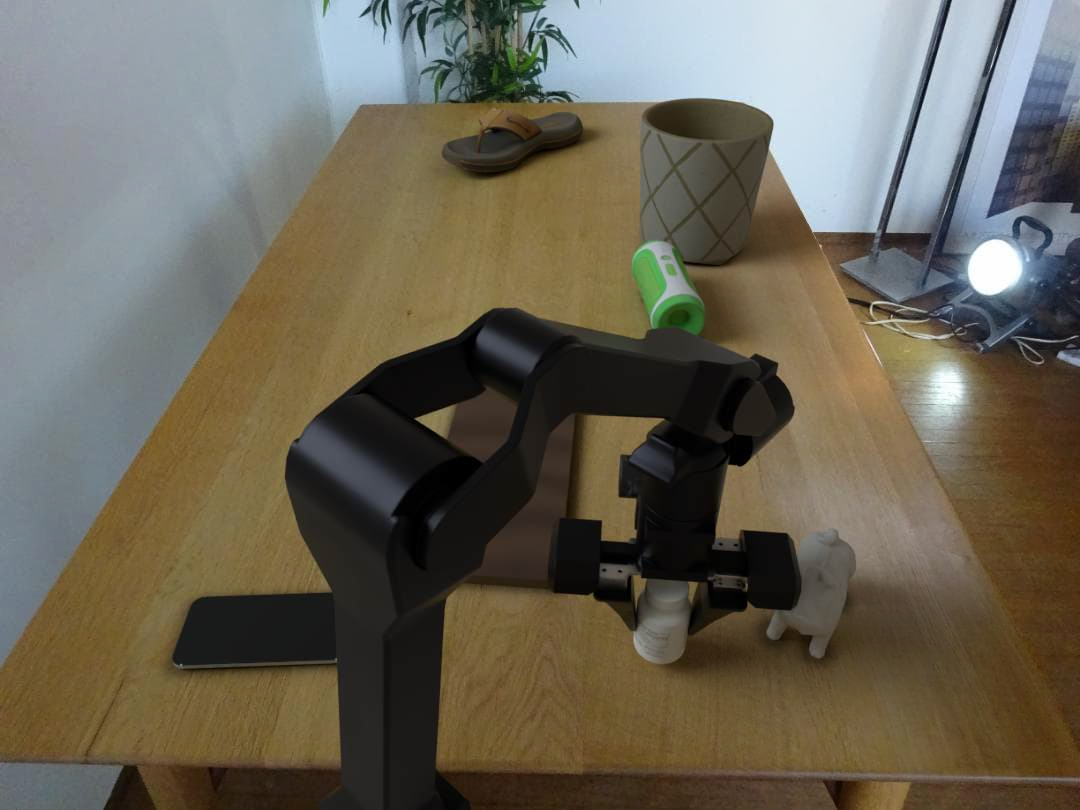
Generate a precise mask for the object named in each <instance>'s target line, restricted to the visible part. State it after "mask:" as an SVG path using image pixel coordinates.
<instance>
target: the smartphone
mask: <svg viewBox="0 0 1080 810" xmlns="http://www.w3.org/2000/svg"><path fill="white" fill-rule="evenodd" d="M171 660H172V663H173V664H174V666H175V667H176V668H178V669H182V670H186V669H188V670H189V669H211V668H212V669H213V668H241V667H243V668H245V667H268V666H270V667H271V666H272V667H273V666H291V665H292V666H295V665H296V666H297V665H300V666H301V665H323V664H325V665H326V664H327V665H328V664H337V653H336V628H335V604H334V597H333V593H332V591H329V592H301V593H300V592H299V593H298V592H297V593H272V594H271V593H270V594H269V593H268V594H241V595H240V594H238V595H214V596H213V595H212V596H211V595H209V596H207V595H206V596H201V597H199V598H196V599H195V600H193V602H192V603H191V604H190V606H189V609H188V613H187V615H186V618H185V620H184V622H183V626H182V628H181V631H180V633H179V636H178V639H177V641H176V644H175V647H174V649H173V653H172V656H171Z"/></svg>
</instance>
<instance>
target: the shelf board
mask: <svg viewBox="0 0 1080 810" xmlns="http://www.w3.org/2000/svg"><path fill="white" fill-rule="evenodd" d="M517 407H518V406H516V405H514V404H512V403H511V402H509V401H507V400H505V399H504V398H502V397H500V396H498V395H497V394H495V393H493V392H491V391H490V390H488V389H486V390H485V391H484V392H483V393H482V394H480V395H478V396H477V397H475V398H472V399H469V400H466V401H464V402H461V403H458V404H456V406H455V408H454V413H453V416H452V420H451V423H450V426H449V430H448V434H447V437H446V439H447V440H448V441H450V442H451V443H453V444H455V445H456V446H458V447H459V448H461V449H462V450H464V451H466V452H467V453H469V454H470V455H472V456H473V457H475V458H476V459H478V460H479V461H481V462H482V463H484V462H485V461H487V460H488V459H489V458H490V457H491V456H492V455H493V454H494V453H495V452H496V451H497V450H498V449H499V448H500V447H501V446H502V445H503V444H504V443H505V442H507V440H508V438H509V435H510V431H511V428H512V424H513V421H514V417H515V414H516V410H517ZM575 424H576V415H573V414H570V415H569V416H568V417H567V418H566V419H565V420H564V421H563V422H562V423H560V424H559V425H558V426H557V427H556V428H555V429H554V430H553V431H552V432H551V433H550V435H549V438H548V442H547V446H546V450H545V454H544V458H543V462H542V466H541V470H540V474H539V478H538V482H537V486H536V490H535V493H534V495H533V497H532V499H531V500H530V501H529V502H528V503H527V504H526V505H525V506H524V507H523V508H522V509H521V510H520V511H519V512H518V513H517V514H516V515H515V516H514V518H513V519H512V520H511V521H510V522H509V523H508V524H507V525H506V526H505V527H504V528H503V529H502V530H501V531H500V532H499V533H498V534H497V535H496V536H495V537H494V538H493V539H492V540H491V541H490V542H489V543H488V544H487V546H486V550H485V555H484V559H483V563H482V566H481V567H480V569H479V570H477V571H476V572H475V573H474V574H473V575H472V576H471V577H470V578H468V579H467V580H466V581H465V582H464V583H465V584H476V585H477V584H478V585H489V586H490V585H491V586H506V587H518V588H519V587H520V588H532V589H533V588H535V589H545V590H548V589H549V588H548V587H547V573H548V559H549V550H550V542H551V533H552V524H553V523H554V522H556V521H557V520H558V519H559V518H560V517H561V518H567V506H568V497H569V488H570V486H569V485H570V478H571V477H570V476H571V468H572V467H571V466H572V456H573V446H574V436H575V435H574V434H575ZM464 583H463V584H464ZM549 590H550V589H549Z"/></svg>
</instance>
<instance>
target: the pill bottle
mask: <svg viewBox="0 0 1080 810" xmlns="http://www.w3.org/2000/svg"><path fill="white" fill-rule="evenodd" d="M644 586H645V587H644V589H643V590H641V592H640V593H639V595H638V598H637V602H636V627H635V631H633V645H634V648H635V650H636V652H637V653H638V655H640V657H641V658H643V659H644V660H646V661H647V662H650V663H652V664H656V665H667V664H671V663H674V662H676V661H677V660H679V659H680V658H681V657H682V656H683V655H684V652H685V649H686V644H687V640H688V639H687V638H688V628H689V622H690V617H691V604H692V602H691V600H690V598H689V594H690V582H686V581H673V580H659V579H646V580H645V585H644Z"/></svg>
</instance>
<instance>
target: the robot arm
mask: <svg viewBox="0 0 1080 810" xmlns="http://www.w3.org/2000/svg"><path fill="white" fill-rule="evenodd" d="M779 364H780V363H778V362H777V361H776V360H772V359H770V358H768V357H766V356H763V355H761V354H759V353H755V352H754V353H753V354H752V355H751V356H750V357H747V356H746V355H743V354H740V353H739V352H736V351H734V350H731V349H729V348H727V347H724V346H722V345H720V344H717V343H715V342H713V341H710V340H709V339H707V338H704V337H701V336H700V335H695V334H692V333H690V332H688V331H685V330H683V329H681V328H679V327H666V328H656V329H653V328H650V329H648V330H647V331H646V332H645V334H644V337H642V338H635V337H630V336H626V335H621V334H616V333H611V332H607V331H602V330H598V329H593V328H590V327H589V328H588V327H584V326H580V325H575V324H569V323H565V322H560V321H555V320H551V319H546V318H542V317H538V316H536V315H534V314H532V313H530V312H527V311H526V310H523V309H521V308H519V307H504V306H503V307H493V308H491V309H490V310H488V311H486V312H484V313H483V314H482V315H480V316H479V317H478V318H477V319H476V320H475V321H473V322H472V323H471V324H470V325H468V326H467V327H466V328H465V329H464V330H462V331H461V332H460V333H459V334H457V335H456V336H454V337H451V338H448V339H445V340H442V341H439V342H437V343H434V344H431V345H427V346H424V347H422V348H421V347H420V348H419V349H416V350H412V351H410V352H407V353H404V354H401V355H398V356H395V357H393V358H389V359H387V360H384V361H382V362H381V363H379V364H378V365H377V366H376V367H374V368H373V369H372V370H371V371H369V372H368V373H367V374H366V375H364V376H363V377H362V378H361V379H359V380H358V381H357V382H356V383H354V384H353V385H352V386H350V388H348V389H347V390H346V391H345V392H343V393H342V394H341V395H339V396H338V397H337V398H336V399H334V400H333V401H332V402H331V403H330V404H328V405H327V406H326V407H325V408H323V409H322V410H321V411H319V412H318V414H316V415H315V416H314V417H313V418H312V419H311V420H310V422H309V423H307V425H306V426H304V428H303V430H302V432H301V434H300V436H299V437H297V438H295V439H293V441H291V444H290V446H289V448H288V452H287V454H286V458H285V466H284V468H285V469H284V482H285V487H286V490H287V494H288V497H289V500H290V504H291V508H292V510H293V514H294V518H295V521H296V524H297V527H298V531H299V534H300V536H301V538H302V539H303V541H304V543H305V545H306V547H307V549H308V550H309V552H310V554H311V556H312V557H313V559H314V562H315V563H316V565H317V568H318V569H319V570H320V572H321V574H322V576H323V577H324V580H325V581H326V583H327V585H328V588H330V592H332V593H333V597H334V604H335V628H336V653H337V663H336V674H337V675H336V676H337V699H338V701H337V703H338V724H339V747H340V748H339V749H340V771H341V772H340V773H341V774H340V775H341V784H340V785H339V786H338V787H336V788H334V789H333V790H332V791H331V792H329V794H327V795H325V797H324V798H322V799H321V800H319V803H318V808H317V810H472V807H471V801H470V800H469V799H468V798H467V797H466V796H465V795H464V794H463V793H462V792H461V791H460V790H459V789H457V787H456V786H454V784H453V783H451V781H449V780H448V778H446V776H444V775H443V774H442V773H441V772H440V770H438V769H437V757H438V753H437V752H438V739H439V738H438V736H439V734H438V733H439V720H440V700H441V684H442V668H443V650H444V649H443V648H444V631H445V630H444V629H445V616H446V615H445V613H446V605H447V599H448V597H450V596H451V595H452V594H453V593H454V592H455V591H456V590H458V588H460V587H461V586H462V585H463V584H464V582H465V581H466V580H467V579H468V578H470V577H471V576H472V575H473V574H474V573H475V572H476V571H477V570H479V569H480V567H481V566H482V563H483V559H484V555H485V550H486V546H487V544H488V543H489V542H490V541H491V540H492V539H493V538H494V537H495V536H496V535H497V534H498V533H499V532H500V531H501V530H502V529H503V528H504V527H505V526H506V525H507V524H508V523H509V522H510V521H511V520H512V519H513V518H514V516H515V515H516V514H517V513H518V512H519V511H520V510H521V509H522V508H523V507H524V506H525V505H526V504H527V503H528V502H529V501H530V500H531V499H532V497H533V495H534V493H535V490H536V486H537V482H538V478H539V474H540V470H541V466H542V462H543V458H544V454H545V450H546V446H547V442H548V438H549V435H550V433H551V432H552V431H553V430H554V429H555V428H556V427H557V426H558V425H559V424H560V423H562V422H563V421H564V420H565V419H566V418H567V417H568V416H569V415H570V414H573V415H575V416H576V415H577V416H601V417H620V418H621V417H622V418H641V419H642V418H643V419H663V420H661V421H660V422H659V423H657V424H656V425H654V426H653V427H651V429H650V430H649V431H647V433H646V437H645V439H646V440H644V441H643V442H641V444H638V446H637V447H636V448H634V449H633V450H632V452H631V454H623V453H621V454H620V458H619V467H618V481H617V482H618V483H617V484H618V485H617V486H618V487H617V496H618V498H620V499H634V500H635V509H634V510H635V511H634V519H633V520H634V522H633V523H634V528H633V529H634V531H636V532H635V537H630V538H629V539H628V541H617V540H602V533H603V532H602V531H603V519H589V518H574V517H566V518H561V517H560V518H559V519H558V520H557V521H556V522H554V523H553V524H552V533H551V542H550V550H549V559H548V573H547V587H548V588H549V590H550V591H551V592H552V593H553V594H559V595H560V594H562V595H573V596H574V595H575V596H590V595H592V597H593V599H594V600H595V601H597V602H598V603H605V604H607V605H608V606H609V607H610V608H611V609H612V610H613V611H614V612H615V613H616V614H617V615H618V616H619V617H620V618H621V620H622V621H623V623H624V625H625V626H626V627H627V629H628V630H629V631H630V632H634V631H635V627H636V608H637V602H636V592H635V590H636V589H635V580H634V576H639V577H640V579H646V580H647V579H659V580H673V581H686V582H688V583H697V584H696V587H695V591H694V594H693V598H692V601H691V617H690V622H689V628H688V633H687V636H689V637H691V636H692V637H693V636H694V635H696V634H698V633H699V632H701V631H702V630H704V629H705V628H706V627H709V625H711V624H713V623H714V622H716V621H719V620H720V619H723V618H725V617H726V616H729V615H731V614H733V613H744V612H745V611H746V610H747V608H748V605H749V604H750V605H751V606H752V607H753V608H754V609H759V610H772V611H773V610H774V611H776V610H785V611H791V610H792V609H793V608H795V607H796V606H797V604H798V601H799V598H800V594H801V586H802V579H801V574H800V570H799V565H798V560H797V551H796V545H795V541H794V539H793V538H792V537H791V536H790V535H789V533H787V532H779V531H764V530H751V529H740V530H739V535H738V538H732V537H730V538H729V537H717V525H718V521H719V515H720V509H721V506H722V505H721V504H722V499H723V493H724V488H725V483H726V478H727V472H728V468H729V466H736V467H739V468H741V467H744V466H745V465H746V464H747V463H748V462H749V461H751V460H752V459H753V458H754V457H755V456H756V455H757V454H758V453H759V452H760V451H761V450H762V449H763V448H765V446H767V444H769V443H770V442H771V441H772V440H773V439H774V438H775V437H776V436H777V435H778V434H779V433H780V432H781V431H783V429H785V427H787V426H788V424H790V422H791V421H792V420H793V417H794V415H795V412H796V411H795V410H796V407H795V405H794V400H793V397H792V396H793V395H792V394H791V391H790V389H789V388H788V386H787V384H786V383H785V382H784V381H783V380H782V378H780V376H778V375H777V373H778V370H779ZM486 389H488V390H490V391H491V392H493V393H495V394H497V395H498V396H500V397H502V398H504V399H505V400H507V401H509V402H511V403H512V404H514V405H516V406H518V407H517V410H516V414H515V417H514V421H513V424H512V428H511V431H510V435H509V438H508V440H507V442H505V443H504V444H503V445H502V446H501V447H500V448H499V449H498V450H497V451H496V452H495V453H494V454H493V455H492V456H491V457H490V458H489V459H488V460H487V461H485V462H484V463H482V462H481V461H479V460H478V459H476V458H475V457H473V456H472V455H470V454H469V453H467V452H466V451H464V450H462V449H461V448H459V447H458V446H456V445H455V444H453V443H451V442H450V441H448V440H447V438H445V437H444V436H443V435H441V434H439V433H437V432H436V431H434V430H433V429H431V428H430V427H428V426H427V425H425V424H423V423H422V422H420V420H418V418H420V417H423V416H426V415H429V414H432V413H434V412H438V411H441V410H443V409H446V408H449V407H452V406H455V405H457V404H458V403H461V402H464V401H466V400H469V399H472V398H475V397H477V396H478V395H480V394H482V393H483V392H484V391H485V390H486ZM746 584H747V585H746ZM746 587H747V588H746ZM748 603H749V604H748Z"/></svg>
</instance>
